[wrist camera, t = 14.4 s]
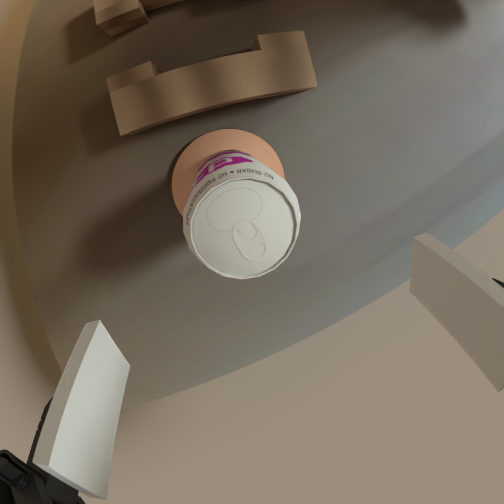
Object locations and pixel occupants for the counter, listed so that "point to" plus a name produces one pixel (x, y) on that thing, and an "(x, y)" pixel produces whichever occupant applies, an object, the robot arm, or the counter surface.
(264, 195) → the supplement can
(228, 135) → the peach smooth rounded piece
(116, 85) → the walnut caddy
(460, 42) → the counter surface
